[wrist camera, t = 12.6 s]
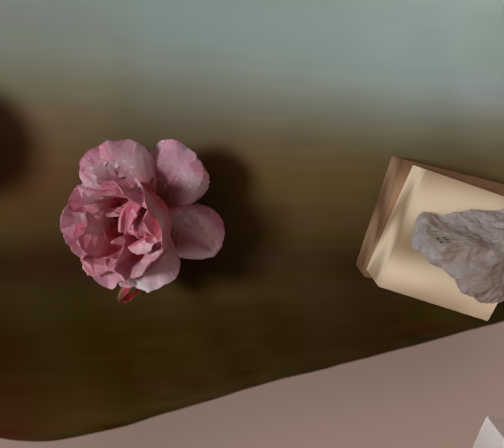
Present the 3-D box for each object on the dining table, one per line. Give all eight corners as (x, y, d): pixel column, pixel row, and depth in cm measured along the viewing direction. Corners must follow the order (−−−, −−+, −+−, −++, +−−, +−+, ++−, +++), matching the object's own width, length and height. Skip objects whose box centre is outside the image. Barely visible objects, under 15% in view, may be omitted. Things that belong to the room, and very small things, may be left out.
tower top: (412, 164, 37) (431, 171, 33) (518, 201, 38) (548, 211, 34) (366, 269, 40) (378, 286, 36) (465, 301, 41) (487, 321, 37)
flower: (193, 105, 36) (142, 136, 27) (246, 244, 41) (217, 305, 33) (67, 146, 41) (-9, 183, 32) (130, 264, 46) (79, 322, 38)
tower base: (389, 155, 41) (404, 159, 37) (498, 182, 41) (524, 189, 38) (354, 261, 44) (364, 276, 40) (456, 285, 45) (475, 301, 41)
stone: (499, 295, 36) (543, 330, 30) (393, 278, 36) (418, 310, 30) (531, 210, 34) (585, 231, 28) (418, 191, 34) (450, 208, 28)
